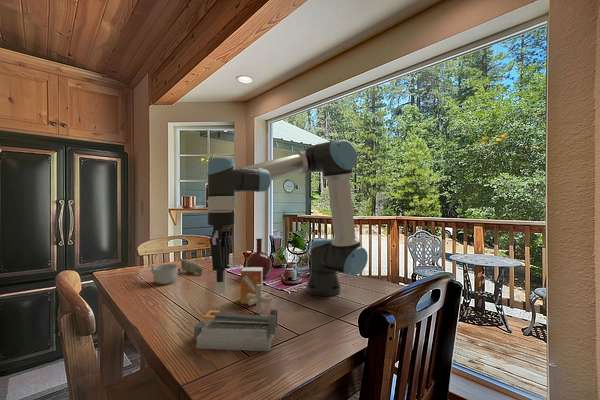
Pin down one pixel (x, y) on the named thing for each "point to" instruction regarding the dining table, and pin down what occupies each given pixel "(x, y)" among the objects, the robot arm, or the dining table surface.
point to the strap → (234, 316)
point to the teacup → (164, 273)
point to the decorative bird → (190, 267)
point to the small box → (250, 282)
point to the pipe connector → (258, 298)
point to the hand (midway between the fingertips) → (221, 291)
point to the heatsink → (236, 334)
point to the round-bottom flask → (260, 259)
